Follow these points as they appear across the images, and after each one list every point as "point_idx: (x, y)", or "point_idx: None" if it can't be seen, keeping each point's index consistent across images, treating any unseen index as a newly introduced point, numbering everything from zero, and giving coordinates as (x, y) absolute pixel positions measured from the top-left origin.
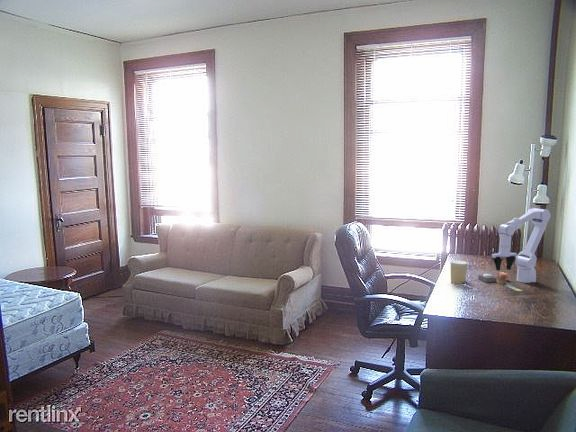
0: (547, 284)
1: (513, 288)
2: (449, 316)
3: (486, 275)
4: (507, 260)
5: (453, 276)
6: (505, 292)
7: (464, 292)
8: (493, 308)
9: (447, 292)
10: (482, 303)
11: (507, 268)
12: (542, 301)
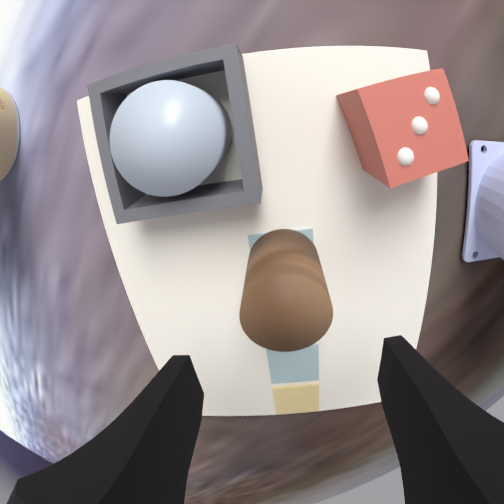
0: None
1: (287, 379)
2: (11, 437)
3: (134, 166)
4: (440, 468)
5: None
6: None
7: (7, 328)
8: None
9: None
10: (68, 430)
11: (385, 359)
12: (312, 465)
